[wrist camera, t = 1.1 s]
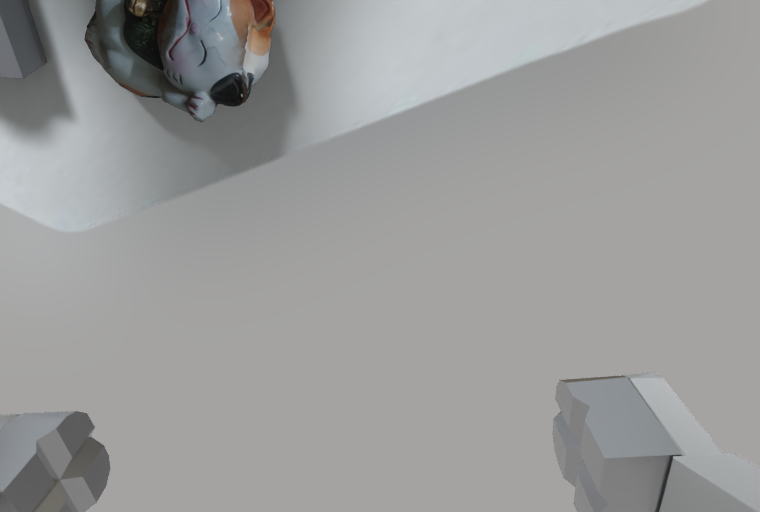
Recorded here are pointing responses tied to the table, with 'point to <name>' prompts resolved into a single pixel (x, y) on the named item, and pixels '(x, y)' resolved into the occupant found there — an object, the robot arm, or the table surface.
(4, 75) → the board
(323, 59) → the table surface
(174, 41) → the lucky cat figurine
